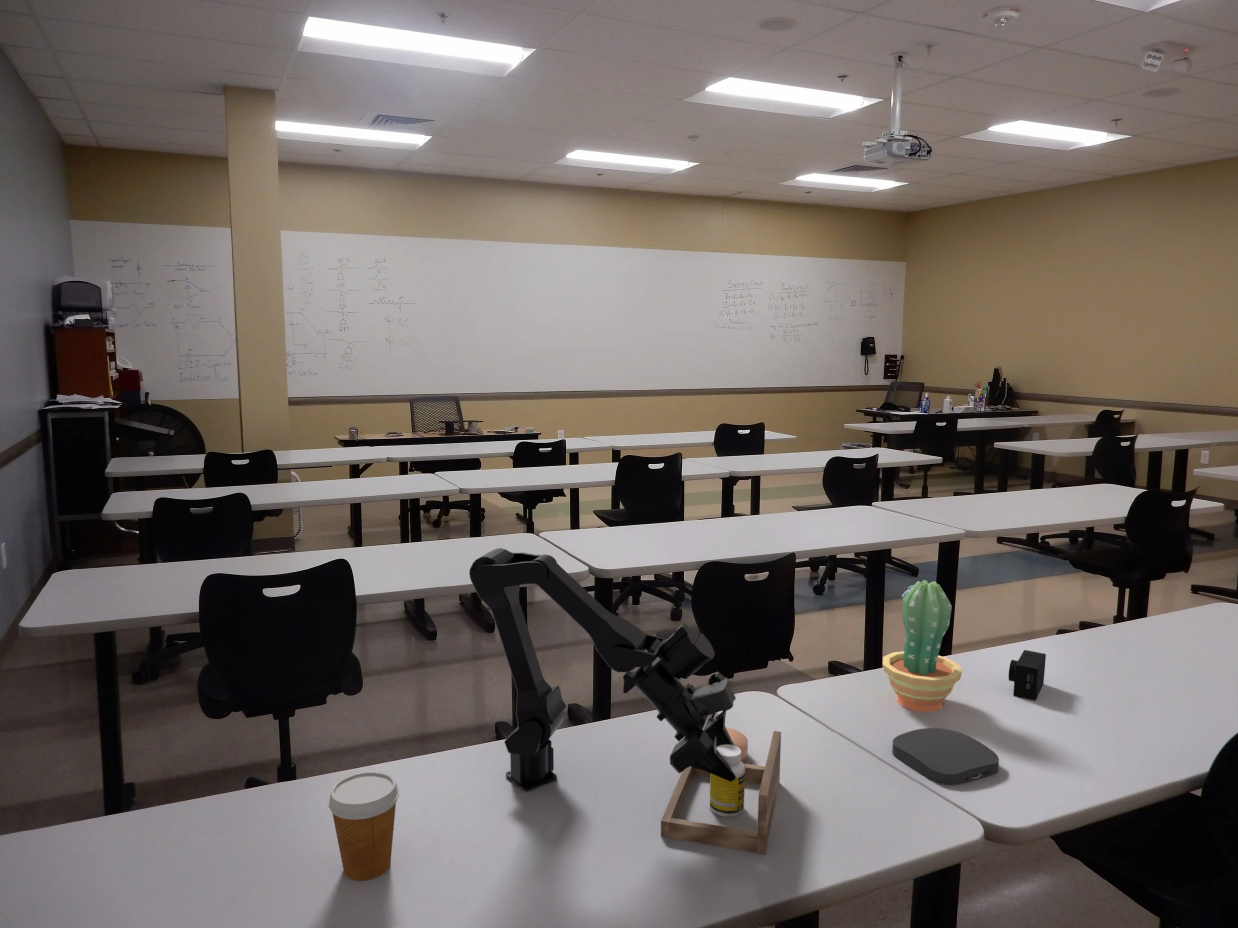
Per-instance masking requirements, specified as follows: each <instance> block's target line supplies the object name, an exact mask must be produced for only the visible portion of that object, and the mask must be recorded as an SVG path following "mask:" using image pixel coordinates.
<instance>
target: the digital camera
mask: <svg viewBox="0 0 1238 928" xmlns="http://www.w3.org/2000/svg"><path fill="white" fill-rule="evenodd" d="M1022 651H1023V652H1022V653H1021V655H1020V656H1019V658H1018V660H1015V659H1011V660H1010V663H1009V669H1008V681H1009V682H1013V692H1012V693H1013V697H1016V698H1021V699H1024V700H1025V699H1026V700H1030V701H1033V702H1036V701H1037V700H1038V697H1039V695H1040V693H1041V691H1042V689H1043V686H1044V683H1045V671H1046V657H1047V654H1046V653H1043V652H1038V651H1033V650H1027V649H1024V650H1022Z"/></svg>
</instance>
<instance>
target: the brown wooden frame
mask: <svg viewBox="0 0 1238 928" xmlns="http://www.w3.org/2000/svg"><path fill="white" fill-rule="evenodd" d="M781 746H782V731H777V730H773V733H772V738H771V740H770V746H769V750H768V754H767V758H766V763H765V766H764V765H756V764H750V763H745V764H744V766H745V783H746V782H748V783H754V784H760V787H759V791H758V798H757V799H758V801H757V806H758V807H757V831H752V830H747V829H741V828H734V827H729V826H725V825H724V826H723V825H719V824H718V825H716V824H710V823H707V822H706V823H705V822H701V821H700V822H698V821H694V820H688V819H687V820H685V819H680V818H678V815H679V813H680V811H681V808H682V805H683V803H684V801H685V797H686V796H687V793H688V790H689V789H690V785H691V783H692V781H693V778H694V776H695V775H700V776H705V777H706V776H707V777H710V773H708V772H706V771H703V770H700V769H697V768H694V767H691V766H690V767H688V768H686V769H685V770H684V771H682V772H681V773H680V776H679V778H678V781H677V783H676V785H675V787H674V790H673V792H672V794H671V797H670V799H669V801H668V803H667V806H666V808H665V811H664V813H663V815H662V818H661V820H660V837H661V838H668V839H673V840H679V841H686V842H692V843H695V844H696V843H697V844H704V845H709V846H715V847H720V848H726V849H732V850H737V851H743V852H751V853H756V854H762V855H766V852H767V847H768V844H769V843H768V842H769V837H770V832H771V828H772V823H773V818H774V813H775V807H776V802H777V797H778V794H779V793H778V792H779V787H780V778H781V777H780V776H781V753H782V752H781V749H782V747H781Z"/></svg>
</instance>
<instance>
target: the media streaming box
mask: <svg viewBox="0 0 1238 928" xmlns="http://www.w3.org/2000/svg"><path fill="white" fill-rule="evenodd" d="M891 749H892V751H891V753H892V755H893V756H894V757H895V758H896V759H898V760H899V761H900V762H902V763H903V764H905V765H906V766H907V767H909V768H911V770H913V771H915V772H917V773H919V774H920V775H921V776H923V777H925V778H926V779H928V780H930V781H932V782H935V783H937V784H938V783H939V784H941V785H948V786H949V785H950V786H954V785H955V786H957V785H962V784H967V783H970V782H975V781H977V780H980V779H981V780H982V779H985V778H987V777H991V776H995V775H996V774H997V773H998V772H999V763H1000V759H999V756H998V755H997V754H996V752H995V751H994V750H992V749H991V748H989V747H988V746H987V745H985V744H984V743H982V742H981V741H979V740H977V739H975V738H974V737H971V736H969V735H967V734H964V733H962V732H960V731H956V730H952V729H947V728H942V727H923V728H917V729H913V730H910V731H907V732H904V733H902V734H898V735H897V736H895V737H894V738H893V740H892V748H891Z"/></svg>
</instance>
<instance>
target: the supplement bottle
mask: <svg viewBox="0 0 1238 928" xmlns="http://www.w3.org/2000/svg"><path fill="white" fill-rule="evenodd" d="M717 750H718V752H719V753H720V754H721V756H722V757H723V758H724V760H725V761H726V763H727V764H728V765H729V767H730V768H731V770H732V771H733V773H734V774H735V776H736V779H735V780H733V781H732V782H730V781H728V780H725V779H723V778H720V777H718V776H715V775H713V774H711V773H710V776H709V802H708V803H709V808H710V811H711V812H712V813H714V814H715V815H717V816H720V817H726V818H732V817H737V816H740V814H742V813H743V812H744V810H745V809H744V808H745V789H746V787H745V786H746V781H745V766H744V764H743V763H742V762H741V750H740V748H738V747H737V746H734V745H720V746H718V747H717Z"/></svg>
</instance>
